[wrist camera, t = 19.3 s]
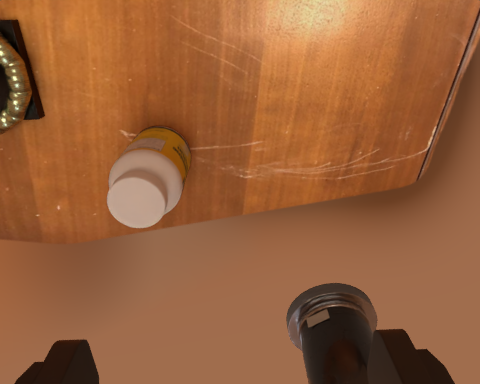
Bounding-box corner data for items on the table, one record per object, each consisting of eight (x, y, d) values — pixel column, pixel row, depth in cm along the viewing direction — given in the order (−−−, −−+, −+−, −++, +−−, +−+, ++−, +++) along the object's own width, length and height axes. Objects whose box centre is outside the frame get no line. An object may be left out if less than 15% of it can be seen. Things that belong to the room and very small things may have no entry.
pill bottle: (182, 187, 41) (164, 247, 31) (126, 169, 40) (88, 225, 30) (199, 136, 39) (186, 182, 28) (140, 114, 38) (103, 155, 27)
